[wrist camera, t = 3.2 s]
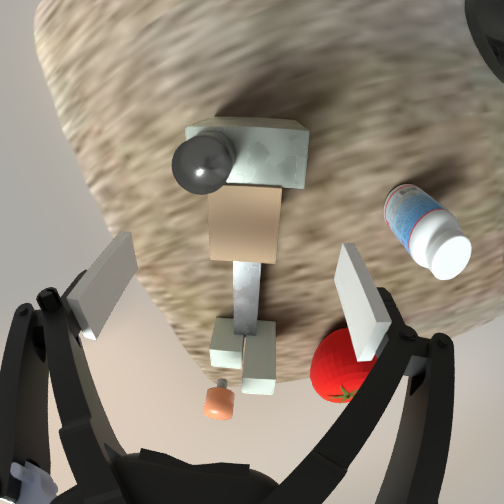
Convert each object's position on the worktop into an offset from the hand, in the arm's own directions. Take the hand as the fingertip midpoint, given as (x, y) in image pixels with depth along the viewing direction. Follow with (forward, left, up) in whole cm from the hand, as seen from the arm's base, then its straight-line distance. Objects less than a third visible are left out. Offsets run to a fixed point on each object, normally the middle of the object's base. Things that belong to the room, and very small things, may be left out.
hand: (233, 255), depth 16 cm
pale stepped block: (+22, 0, -14) cm, 26 cm away
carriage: (0, 0, -14) cm, 14 cm away
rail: (+6, 0, -14) cm, 15 cm away
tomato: (+24, +15, -14) cm, 32 cm away
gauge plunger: (+22, -2, -4) cm, 22 cm away
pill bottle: (+1, +18, -14) cm, 23 cm away
